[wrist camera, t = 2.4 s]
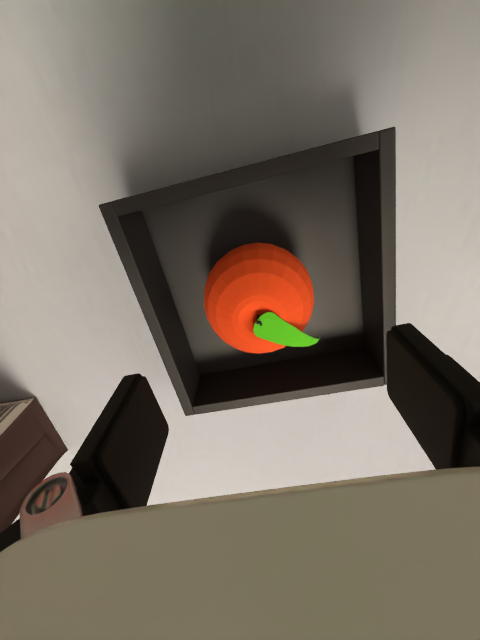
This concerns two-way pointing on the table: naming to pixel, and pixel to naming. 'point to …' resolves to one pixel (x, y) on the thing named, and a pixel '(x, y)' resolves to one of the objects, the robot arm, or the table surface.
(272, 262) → the clementine
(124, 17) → the table surface
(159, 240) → the black box
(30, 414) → the protein powder
